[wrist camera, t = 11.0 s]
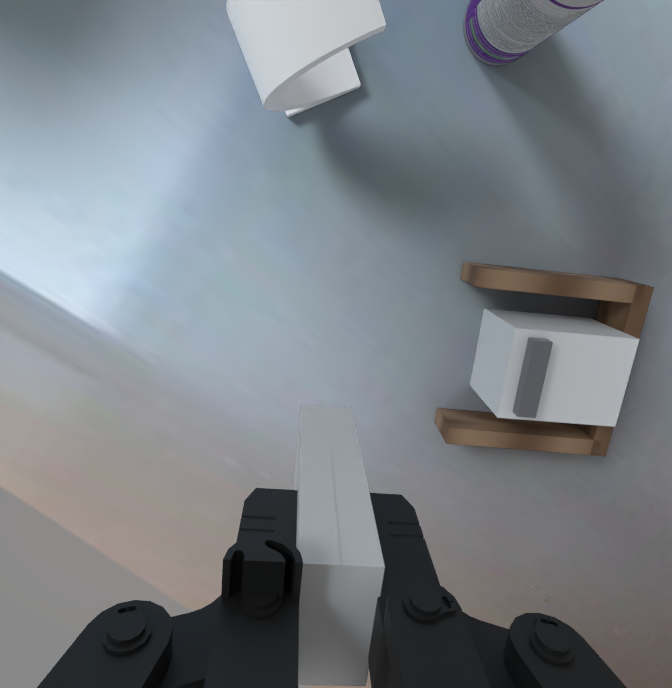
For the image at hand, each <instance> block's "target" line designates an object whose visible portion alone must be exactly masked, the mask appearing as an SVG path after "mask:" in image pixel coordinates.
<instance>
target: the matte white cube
mask: <svg viewBox="0 0 672 688" xmlns="http://www.w3.org/2000/svg"><path fill="white" fill-rule="evenodd" d="M639 340H640V339H638V338H635V337H633V336H631V335H628V334H626V333H624V332H621V331H619V330H617V329H614V328H612V327H610V326H607V325H605V324H602V323H600V322H598V321H595V320H593V319H591V318H584V317H573V316H563V315H552V314H541V313H530V312H520V311H509V310H498V309H487V308H484V312H483V317H482V322H481V328H480V333H479V338H478V344H477V349H476V354H475V360H474V365H473V370H472V376H471V381H470V386H471V387H472V389H473V390H474V391H475V392H476V393H477V394H478V396H479V397H480V398H481V399H482V400H483V401H484V403H485V404H486V405H487V406H488V407H489V408H490V410H491V411H492V412H493V413H494V414H495V415H496V417H497V418H508V419H521V420H534V421H547V422H560V423H573V424H586V425H599V426H612V427H615V426H616V423H617V419H618V415H619V412H620V408H621V404H622V401H623V397H624V394H625V390H626V386H627V383H628V379H629V376H630V372H631V368H632V365H633V361H634V358H635V354H636V350H637V347H638V343H639Z"/></svg>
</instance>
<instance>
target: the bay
mask: <svg viewBox="0 0 672 688" xmlns="http://www.w3.org/2000/svg"><path fill="white" fill-rule="evenodd" d="M460 279H462V280H464V281H466V282H468V283H470V284H471V285H473V286H475V287H482V288H491V289H501V290H510V291H520V292H529V293H539V294H548V295H558V296H567V297H577V298H586V299H596V300H600V304H599V308H598V312H597V316H596V319H595V321H598V322H600V323H602V324H605V325H607V326H610V327H612V328H614V329H617V330H619V331H621V332H624V333H626V334H628V335H631V336H633V337H635V338H638V339H639V338H640V334H641V331H642V327H643V324H644V320H645V317H646V313H647V310H648V306H649V303H650V299H651V296H652V292H653V289H654V287H651V286H647V285H643V284H639V283H636V282H632V281H628V280H624V279H617V278H608V277H599V276H589V275H580V274H571V273H562V272H553V271H544V270H534V269H525V268H516V267H507V266H498V265H489V264H479V263H470V262H463V267H462V273H461V278H460ZM435 424H436V426H437V428H438V429H439V431H440V433H441V435H442V437H443V438H444V440H445V442H446V443H447V444H459V445H472V446H484V447H497V448H509V449H521V450H534V451H546V452H558V453H571V454H583V455H596V456H606V453H607V449H608V446H609V442H610V439H611V435H612V432H613V428H614V427H612V426H599V425H586V424H573V423H560V422H547V421H534V420H521V419H508V418H497V417H496V415H495V414H494V413H490V412H479V411H467V410H455V409H444V408H437V412H436V417H435Z"/></svg>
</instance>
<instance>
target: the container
mask: <svg viewBox="0 0 672 688" xmlns="http://www.w3.org/2000/svg"><path fill="white" fill-rule="evenodd" d="M602 1H603V0H471V1H470V2H469V4H468V6H467V9H466V12H465V16H464V22H463V32H464V37H465V41H466V44H467V46H468V48H469V49H470V51H471V52H472V54H473V55H474V56H475V57H476V58H478V59H479V60H480V61H482V62H484V63H486V64H490V65H504V64H508V63H511V62H513V61H514V60H516V59H518V58H519V57H521V56H522V55H524V54H525V53H527V52H528V51H530V50H531V49H533V48H534V47H536V46H537V45H539V44H540V43H542V42H543V41H544V40H546V39H547V38H549V37H550V36H552V35H553V34H555V33H556V32H558V31H559V30H561V29H562V28H564V27H565V26H566V25H568V24H569V23H571V22H572V21H574V20H575V19H577V18H578V17H580V16H581V15H583V14H584V13H586V12H587V11H589V10H590V9H591V8H593V7H594V6H596V5H597V4H599V3H600V2H602Z"/></svg>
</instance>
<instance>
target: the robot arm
mask: <svg viewBox="0 0 672 688" xmlns="http://www.w3.org/2000/svg"><path fill="white" fill-rule="evenodd" d="M368 669H369V671H370V678H371V686H372V688H626V686H625V685H624V684H623V683H622V682H621V681H620V680H619V678H618V677H617V676H616V675H615V674H614V673H613V672H612V670H611V669H610V668H609V667H608V666H607V665H606V664H605V662H604V661H603V660H602V659H601V658H600V657H599V656H598V654H597V653H596V652H595V651H594V650H593V649H592V648H591V646H590V645H589V644H588V643H587V642H586V641H585V640H584V638H583V637H581V636H580V635H579V634H578V633H577V632H576V631H575V630H574V629H573V628H571V627H570V626H569V625H567V624H565V623H563V622H562V621H560V620H558V619H556V618H554V617H551V616H548V615H544V614H541V613H525V614H523V615H520V616H518V617H516V618H515V619H514V621H513V623H512V624H511V626H510V629H506V628H503V627H499V626H496V625H493V624H490V623H486V622H483V621H480V620H478V619H475V618H473V617H470V616H469V615H467V614H465V613H464V612H462V609H461V607H460V606H459V604H458V602H457V601H456V599H455V597H454V596H453V595H452V594H450V593H449V592H448V591H447V590H446V589H445V588H444V587H441V586H440V583H439V580H438V578H437V575H436V572H435V569H434V566H433V563H432V560H431V557H430V554H429V551H428V548H427V545H426V542H425V539H423V533H422V530H421V527H420V526H419V521H418V518H417V515H416V512H415V509H414V508H413V506H412V505H411V504H410V503H409V502H408V501H407V500H406V499H405V498H404V497H403V496H402V495H397V494H379V493H369V488H368V484H367V479H366V474H365V469H364V464H363V459H362V455H361V450H360V445H359V440H358V435H357V431H356V426H355V421H354V416H353V411H352V407H339V406H325V405H311V404H301V413H300V424H299V435H298V447H297V458H296V469H295V480H294V490H282V489H265V488H256V489H255V490H254V491H253V492H252V493H251V494H250V495H249V496H248V497H247V499H246V500H245V502H244V507H243V512H242V518H241V522H240V527H239V532H238V537H237V542H236V543H235V544H234V545H233V546H232V547H230V548H229V549H228V551H227V553H226V555H225V557H224V559H223V574H222V594H221V596H219V597H218V598H217V599H216V600H215V601H214V602H212V603H211V604H209V605H207V606H206V607H204V608H202V609H199V610H196V611H193V612H190V613H187V614H182V615H178V616H174V617H170V615H169V614H168V613H167V612H166V610H165V609H164V608H163V607H162V606H159V605H157V604H155V603H153V602H151V601H139V600H133V601H129V602H124V603H119V604H116V605H115V606H112V607H111V608H108V609H107V610H105V611H103V612H101V613H100V614H99V615H98V616H97V617H96V618H94V620H92V621H91V622H90V623H89V624H88V625H87V627H86V628H85V629H84V630H83V631H82V633H81V634H80V635H79V636H78V638H77V639H76V640H75V641H74V643H73V644H72V645H71V646H70V647H69V649H68V650H67V651H66V652H65V654H64V655H63V656H62V657H61V659H60V660H59V661H58V662H57V664H56V665H55V666H54V667H53V669H52V670H51V671H50V672H49V674H48V675H47V676H46V677H45V679H44V680H43V681H42V682H41V683H40V685H39V686H38V687H37V688H298V685H299V684H300V685H337V686H366V682H367V676H368Z"/></svg>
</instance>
